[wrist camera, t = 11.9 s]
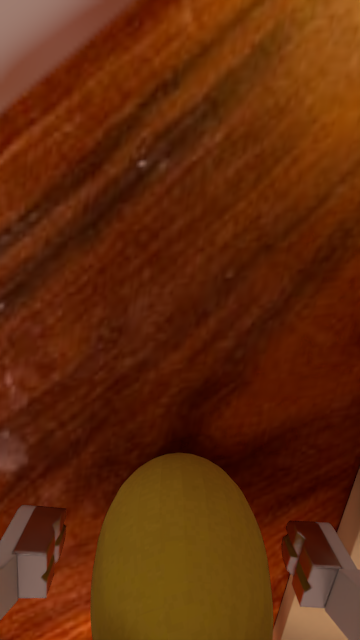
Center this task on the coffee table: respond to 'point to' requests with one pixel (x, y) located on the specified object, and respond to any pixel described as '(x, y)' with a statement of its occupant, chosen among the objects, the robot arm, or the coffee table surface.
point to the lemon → (180, 558)
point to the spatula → (314, 623)
